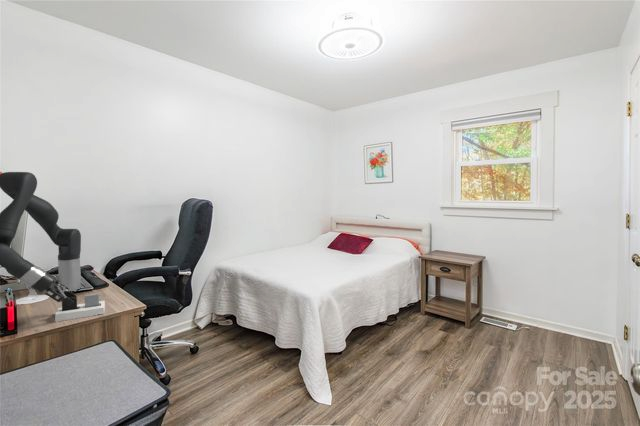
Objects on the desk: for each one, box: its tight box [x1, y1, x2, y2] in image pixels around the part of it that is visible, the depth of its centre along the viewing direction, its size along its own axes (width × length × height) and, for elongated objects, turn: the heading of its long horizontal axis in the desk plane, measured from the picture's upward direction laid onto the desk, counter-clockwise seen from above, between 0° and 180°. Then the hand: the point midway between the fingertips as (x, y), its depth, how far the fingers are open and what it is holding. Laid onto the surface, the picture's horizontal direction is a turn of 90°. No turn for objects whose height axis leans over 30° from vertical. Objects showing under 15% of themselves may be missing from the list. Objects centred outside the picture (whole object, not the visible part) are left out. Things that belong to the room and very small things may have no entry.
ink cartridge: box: [61, 297, 78, 311], centre depth 137 cm, size 5×2×8 cm, turn 121°
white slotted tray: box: [54, 292, 106, 323], centre depth 139 cm, size 10×17×8 cm, turn 122°
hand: (73, 301), depth 138 cm, fingers open, 8 cm apart
